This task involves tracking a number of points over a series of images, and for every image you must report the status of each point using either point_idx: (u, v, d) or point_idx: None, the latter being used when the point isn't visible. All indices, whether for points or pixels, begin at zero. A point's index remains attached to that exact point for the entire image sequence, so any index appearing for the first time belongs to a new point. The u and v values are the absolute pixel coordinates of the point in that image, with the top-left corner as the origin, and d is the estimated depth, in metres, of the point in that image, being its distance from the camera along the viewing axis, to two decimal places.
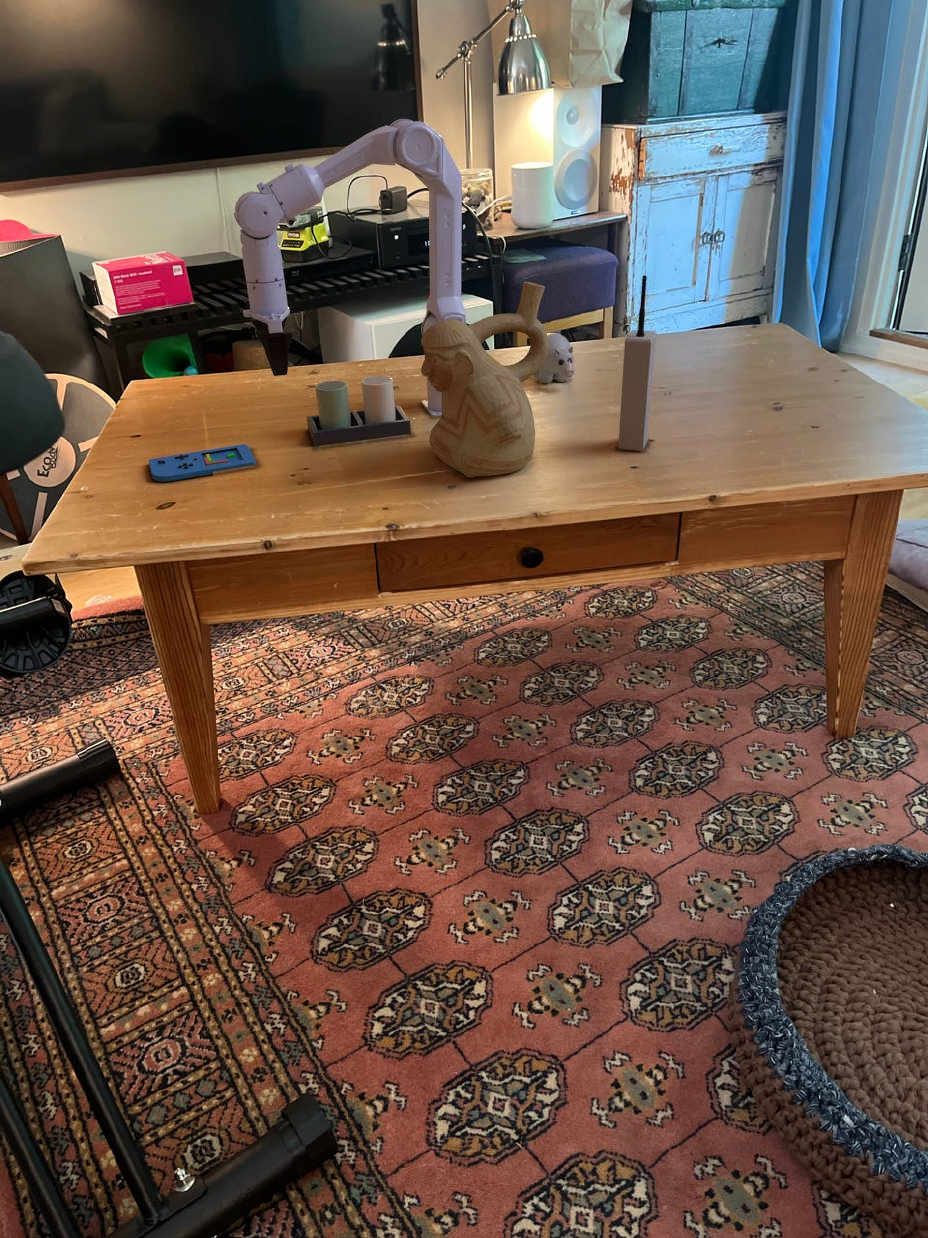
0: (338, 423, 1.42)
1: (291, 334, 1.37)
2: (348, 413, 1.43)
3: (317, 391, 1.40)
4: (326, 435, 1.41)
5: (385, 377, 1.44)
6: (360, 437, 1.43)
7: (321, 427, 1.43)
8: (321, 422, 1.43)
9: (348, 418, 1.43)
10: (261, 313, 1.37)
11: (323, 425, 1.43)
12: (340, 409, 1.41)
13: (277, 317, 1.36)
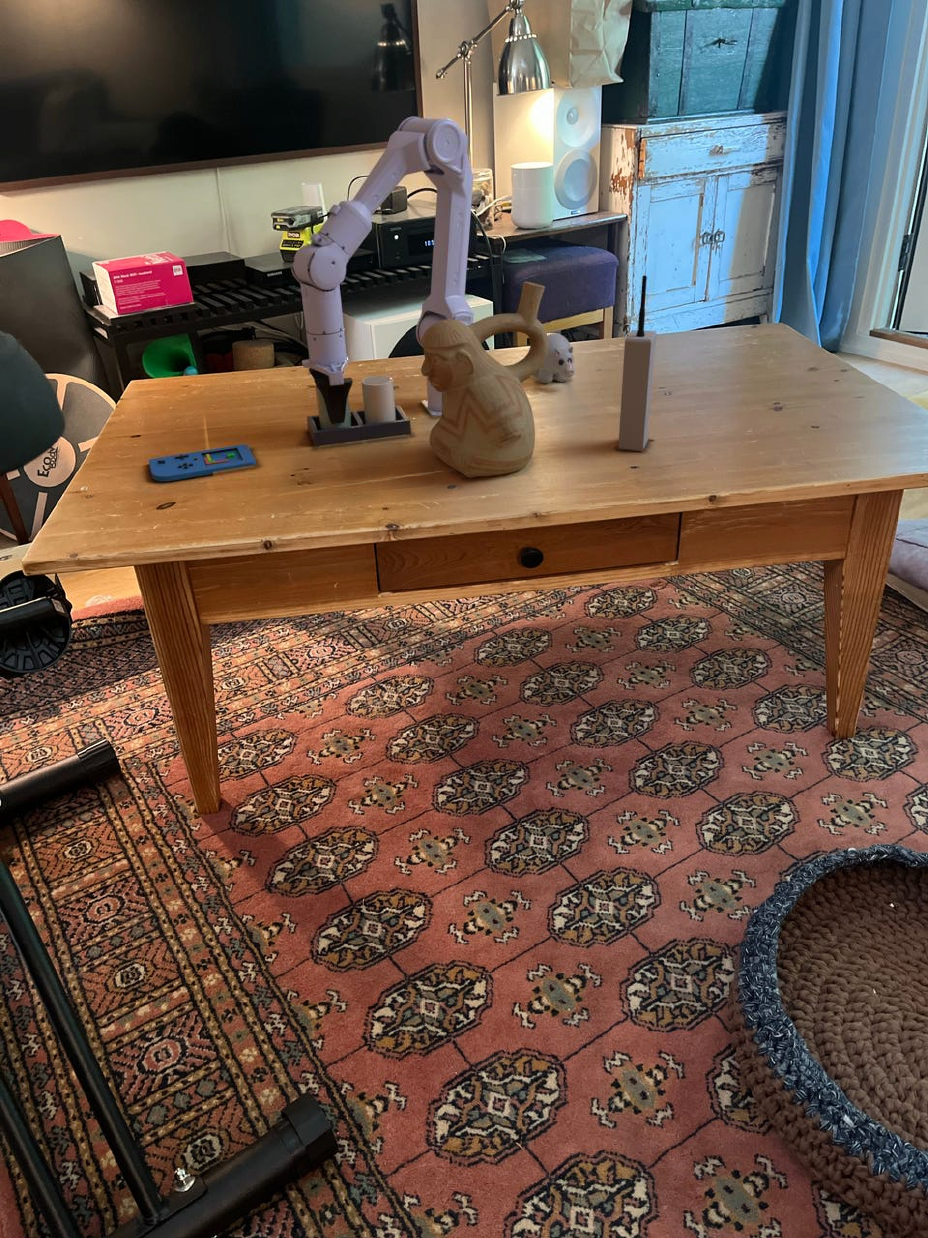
0: (338, 423, 1.42)
1: (350, 383, 1.37)
2: (348, 413, 1.43)
3: (317, 391, 1.40)
4: (326, 435, 1.41)
5: (385, 377, 1.44)
6: (360, 437, 1.43)
7: (321, 427, 1.43)
8: (321, 422, 1.43)
9: (348, 418, 1.43)
10: (321, 364, 1.37)
11: (323, 425, 1.43)
12: None
13: (338, 368, 1.35)
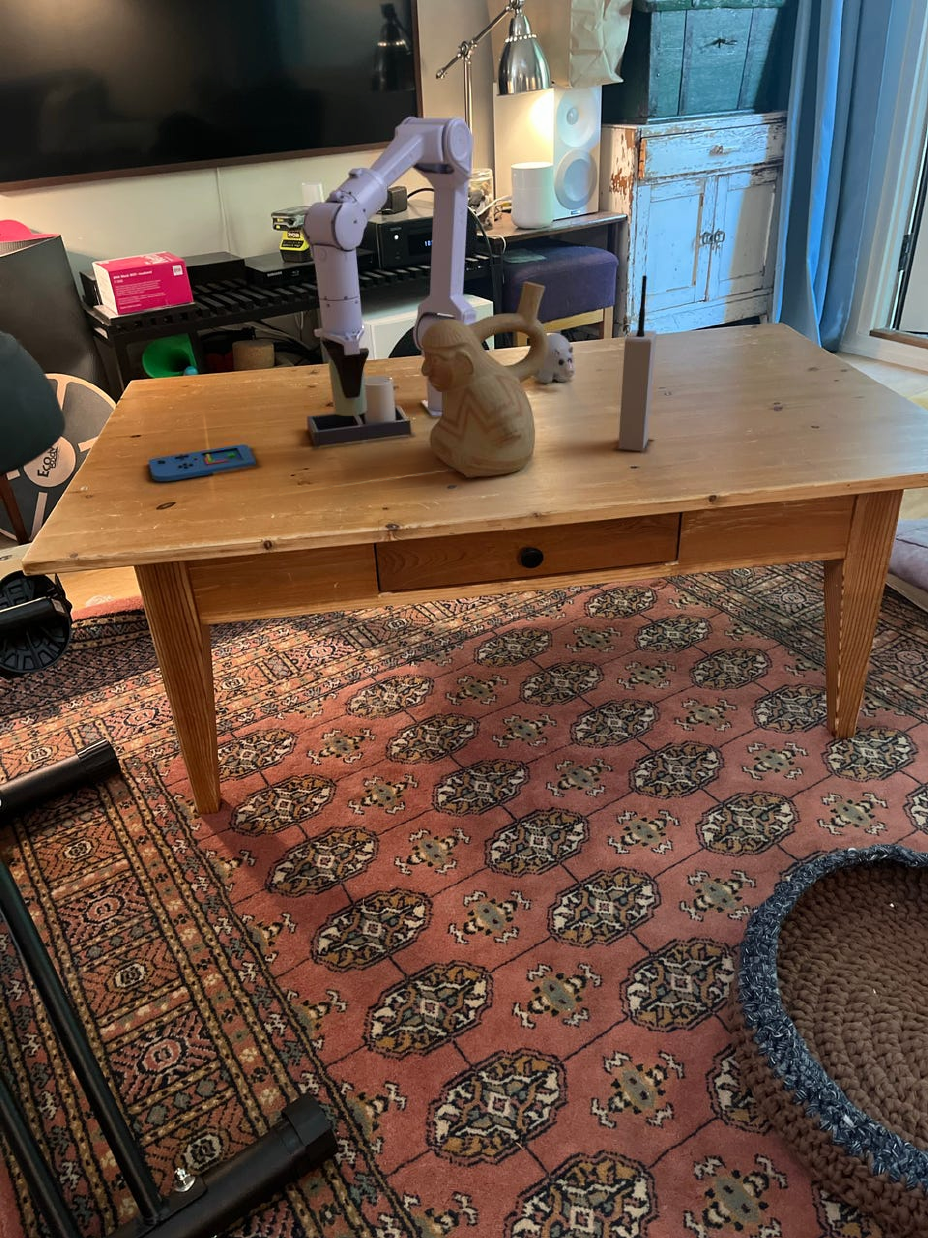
0: None
1: (366, 354, 1.27)
2: (363, 387, 1.33)
3: (330, 363, 1.30)
4: (326, 435, 1.41)
5: (385, 377, 1.44)
6: (360, 437, 1.43)
7: (334, 402, 1.33)
8: (334, 397, 1.33)
9: (363, 393, 1.33)
10: (335, 333, 1.26)
11: (337, 400, 1.32)
12: None
13: (353, 337, 1.25)
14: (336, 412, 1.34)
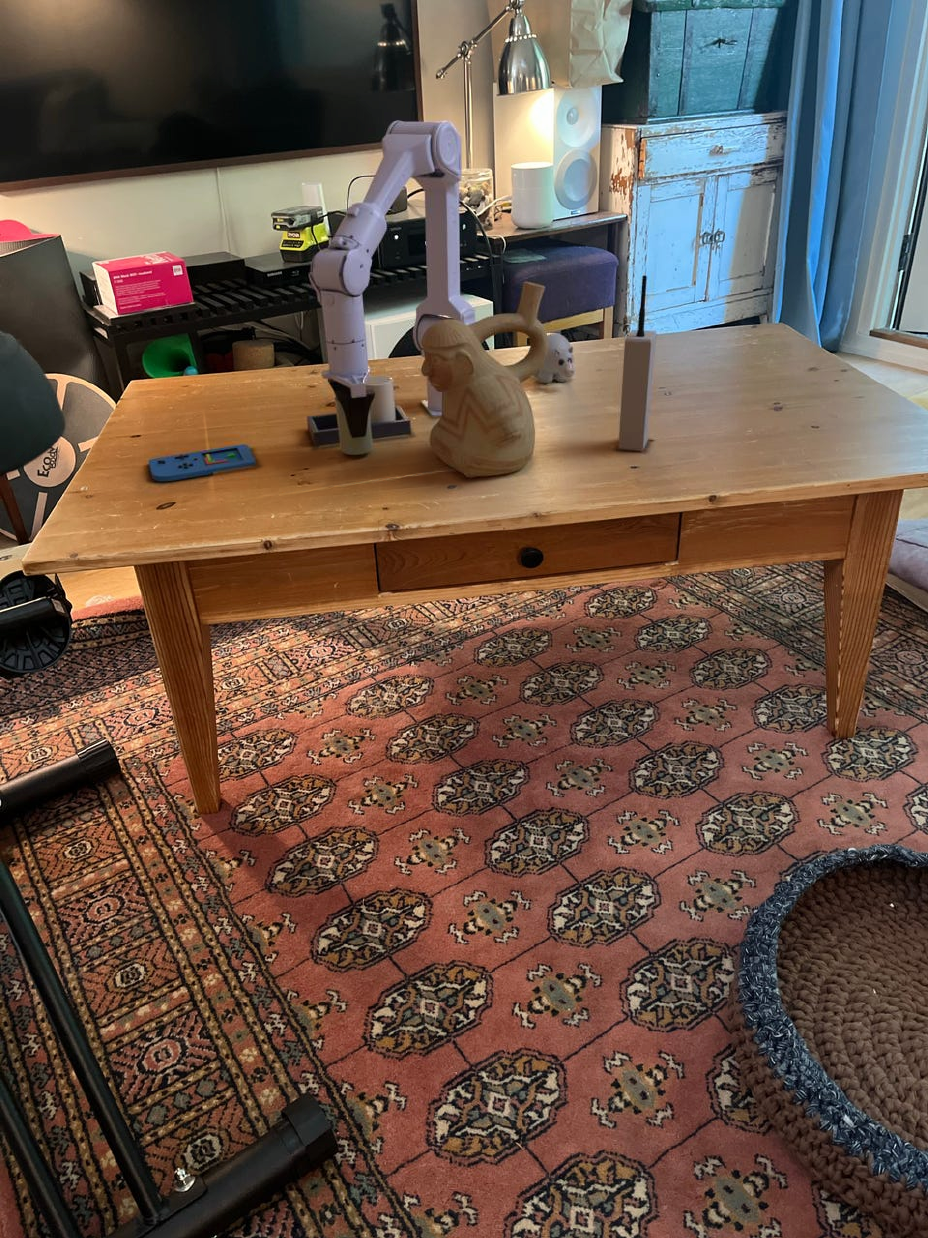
0: (359, 437, 1.34)
1: (373, 395, 1.29)
2: (369, 427, 1.35)
3: (337, 403, 1.32)
4: (326, 435, 1.41)
5: (385, 377, 1.44)
6: None
7: (340, 441, 1.36)
8: (341, 436, 1.35)
9: (369, 432, 1.35)
10: (341, 375, 1.29)
11: (343, 439, 1.35)
12: None
13: (359, 380, 1.28)
14: (342, 451, 1.36)
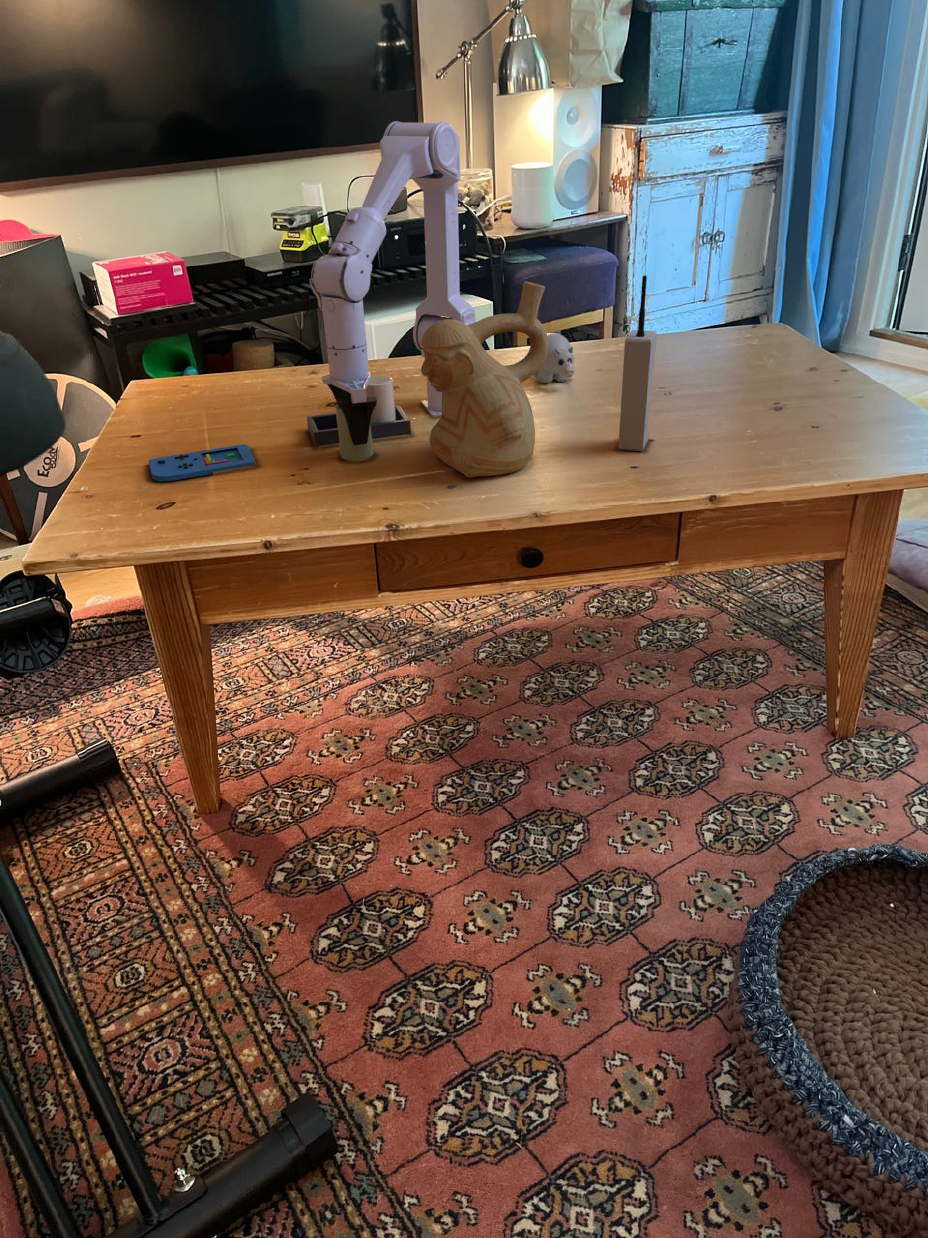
0: (359, 445, 1.35)
1: (374, 403, 1.29)
2: (370, 435, 1.36)
3: (337, 412, 1.33)
4: (326, 435, 1.41)
5: (385, 377, 1.44)
6: None
7: (341, 450, 1.36)
8: (341, 444, 1.36)
9: (369, 440, 1.36)
10: (342, 380, 1.29)
11: (344, 448, 1.35)
12: None
13: (360, 385, 1.28)
14: None
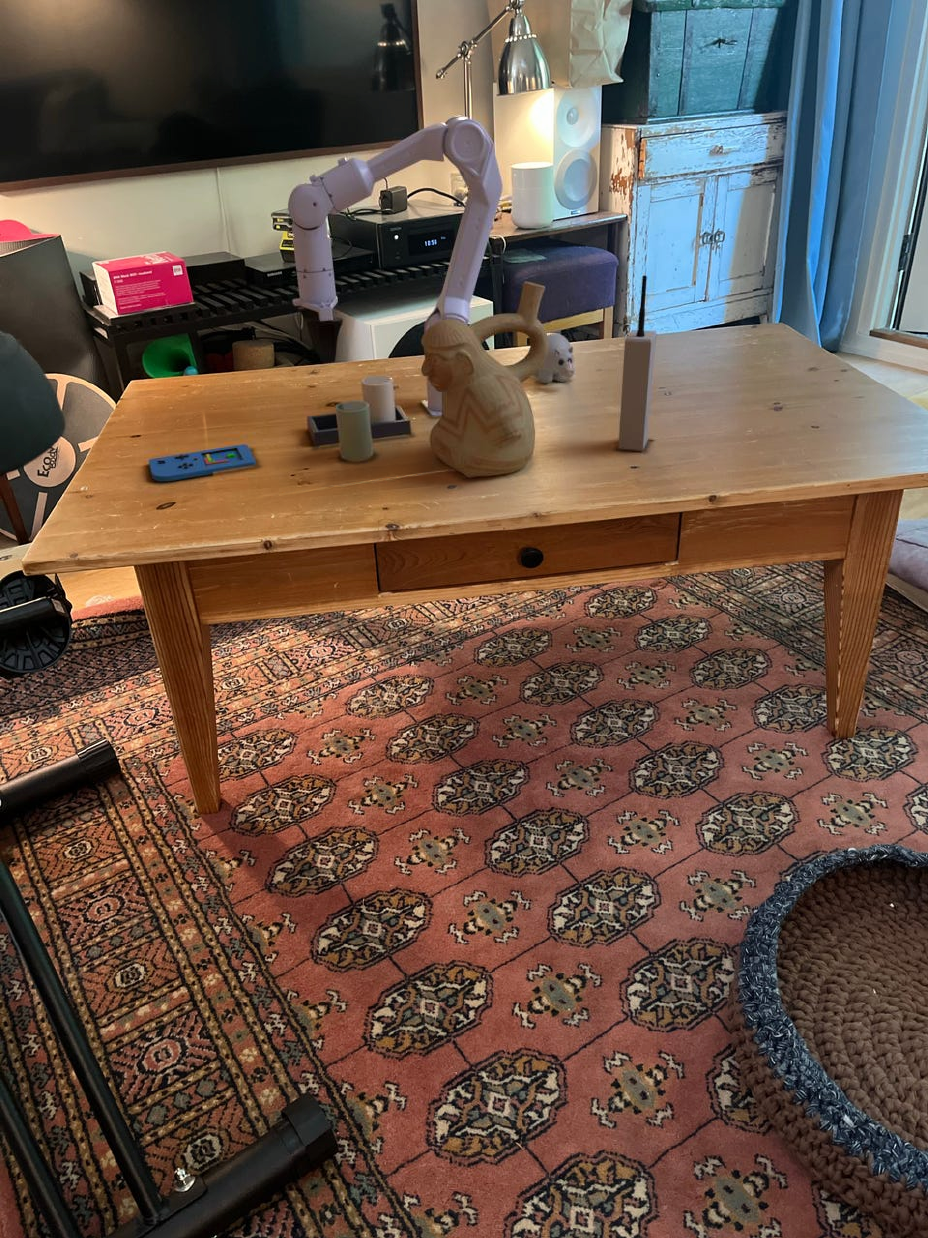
0: (359, 445, 1.35)
1: (340, 322, 1.41)
2: (370, 435, 1.36)
3: (337, 412, 1.33)
4: (326, 435, 1.41)
5: (385, 377, 1.44)
6: None
7: (341, 450, 1.36)
8: (341, 444, 1.36)
9: (369, 440, 1.36)
10: (311, 302, 1.41)
11: (344, 448, 1.35)
12: (361, 431, 1.34)
13: (327, 305, 1.40)
14: None
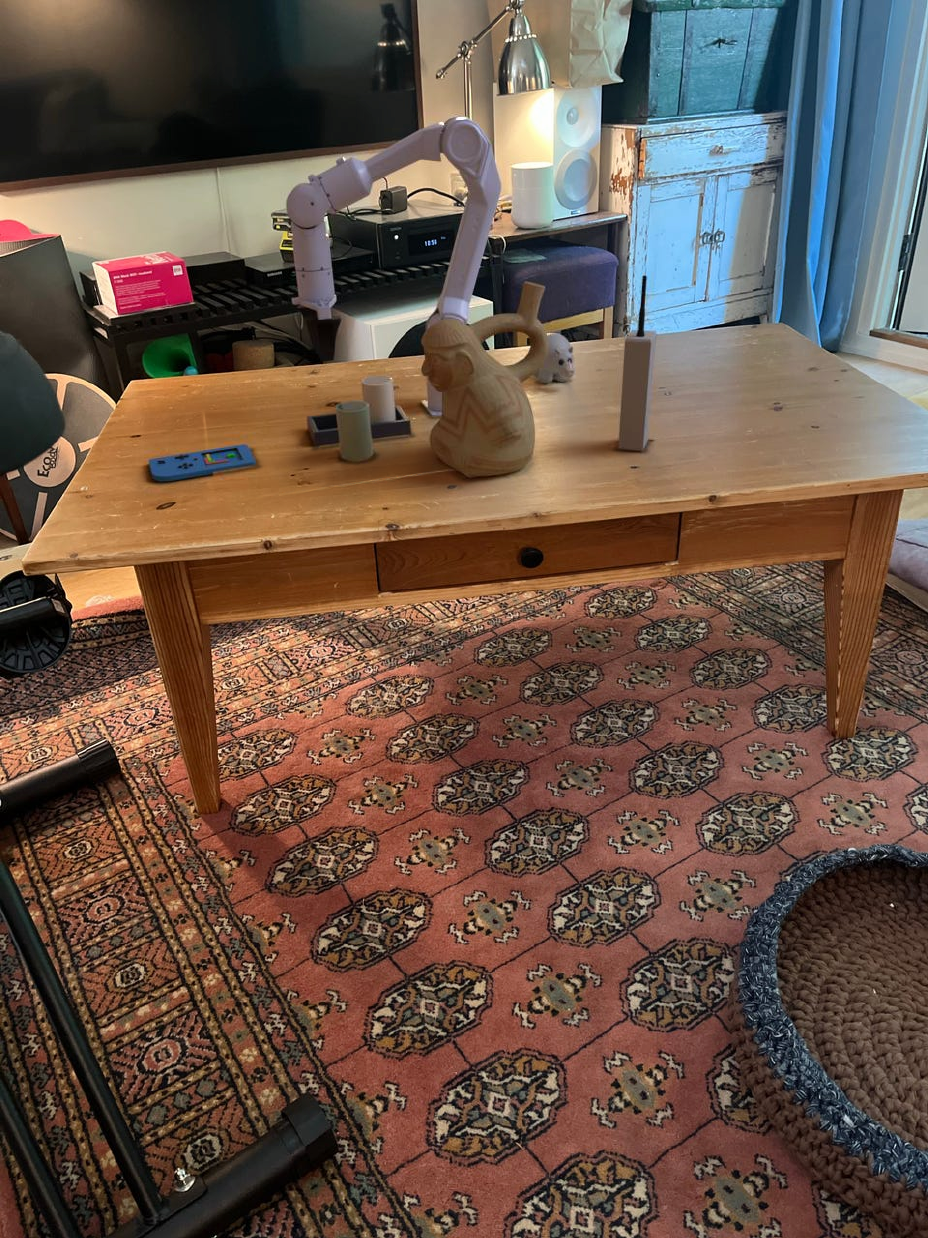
0: (359, 445, 1.35)
1: (339, 321, 1.42)
2: (370, 435, 1.36)
3: (337, 412, 1.33)
4: (326, 435, 1.41)
5: (385, 377, 1.44)
6: None
7: (341, 450, 1.36)
8: (341, 444, 1.36)
9: (369, 440, 1.36)
10: (309, 301, 1.42)
11: (344, 448, 1.35)
12: (361, 431, 1.34)
13: (326, 304, 1.41)
14: None
